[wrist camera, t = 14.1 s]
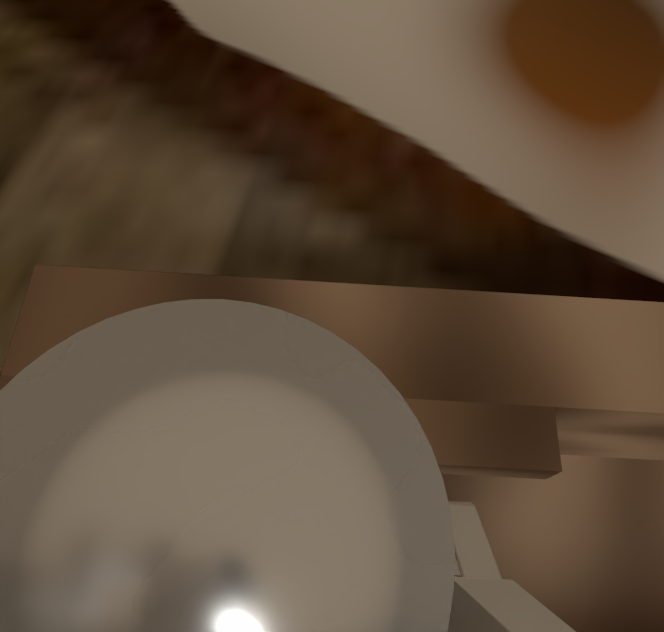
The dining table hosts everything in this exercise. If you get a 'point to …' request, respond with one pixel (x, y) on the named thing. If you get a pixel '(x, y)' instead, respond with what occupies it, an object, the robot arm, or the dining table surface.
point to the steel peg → (217, 482)
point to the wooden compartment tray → (475, 412)
